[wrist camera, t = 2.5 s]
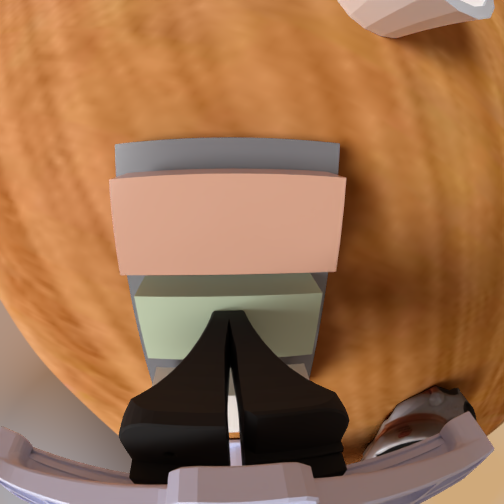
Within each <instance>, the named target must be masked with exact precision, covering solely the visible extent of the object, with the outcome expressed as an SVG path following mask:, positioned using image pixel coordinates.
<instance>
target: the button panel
mask: <svg viewBox="0 0 504 504" xmlns="http://www.w3.org/2000/svg"><path fill="white" fill-rule="evenodd" d="M339 152H340V144H339V143H330V142H319V141H307V140H293V139H274V138H187V139H169V140H155V141H143V142H133V143H123V144H115V162H116V177H117V176H120V175H123V174H126V173H133V172H147V171H164V170H185V169H286V170H308V171H324V172H330V173H333V174H336V175H338V169H339ZM280 274H295V273H280ZM310 274H311V275H312V277H313V278H314V280H315V282H316V283H317V285H318V286H319V288H320V290H321V291H322V300H321V306H320V312H319V318H318V324H317V330H316V336H315V341H314V347H313V352H312V354H309V355H299V356H287V357H279V358H280V359H281V360H282V361H283V362H284V363H285V364H286V365H291V364H302V363H304V365H305V368H306V371H307V374H308V377H309V378H310V373H311V368H312V364H313V359H314V354H315V349H316V343H317V338H318V333H319V327H320V321H321V315H322V310H323V303H324V297H325V290H326V284H327V277H328V272H313V273H310ZM235 275H257V274H235ZM145 276H196V275H127V277H128V283H129V288H130V294H131V299H132V304H133V309H134V313H135V318H136V323H137V327H138V331H139V335H140V340H141V344H142V348H143V351H144V355H145V359H146V363H147V366H148V370H149V373H150V377H151V380H152V384H153V380H154V376H155V371H156V367H168V368H176V367H177V366H178V365H179V364H180V363H181V362H182V360H183V359H154V358H148V356H147V352H146V348H145V344H144V340H143V336H142V331H141V327H140V323H139V318H138V313H137V308H136V303H135V298H134V296H135V294H136V292H137V290H138V288H139V286H140V284H141V282H142V281H143V279H144V277H145ZM230 368H231V366H230Z"/></svg>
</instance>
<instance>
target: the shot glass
mask: <svg viewBox="0 0 504 504" xmlns="http://www.w3.org/2000/svg"><path fill="white" fill-rule="evenodd" d="M338 2H339V4H340V5H341V6H342V7H343V9H344V10H345V11H346V13H347V14H348V15H349V17H351V18H352V19H353V20H355V21H356V22H357V23H358V24H359V25H361V26H362V27H363V28H364V29H367V30H369V31H371V32H373V33H375V34H377V35H379V36H383V37H390V38H399V37H402V36H406V35H409V34H413V33H416V32H420V31H424V30H428V29H432V28H436V27H441V26H445V25H450V24H455V23H461V22H467V21H473V20H480V19H486V18H490V17H491V15H492V12H493V10H494V2H493V0H338Z"/></svg>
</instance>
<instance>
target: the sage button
mask: <svg viewBox="0 0 504 504" xmlns="http://www.w3.org/2000/svg"><path fill="white" fill-rule="evenodd" d="M134 298H135V303H136V308H137V313H138V318H139V323H140V327H141V331H142V336H143V340H144V344H145V348H146V352H147V356H148V358H154V359H184V358H185V357H186V356H187V355H188V353H189V352H190V351H191V350H192V348H193V347H194V345H195V344H196V342H197V341H198V340H199V338H200V336H201V335H202V333H203V331H204V330H205V328H206V326H207V324H208V322H209V320H210V317H211V314H212V312H214V311H231V310H243V311H244V312H245V313H246V316H247V318H248V319H249V321H250V323H251V324H252V326H253V328H254V329H255V331H256V332H257V333H258V335H259V336H260V337H261V339H262V340H263V341H264V343H265V344H266V345H267V346H268V347H269V348H270V349H271V350H272V352H273V353H274V354H275V355H276V356H277V357H287V356H299V355H309V354H312V352H313V347H314V341H315V336H316V330H317V324H318V318H319V312H320V306H321V300H322V291H321V290H320V288H319V286H318V285H317V283H316V282H315V280H314V278H313V277H312V275H311V274H310V273H295V274H257V275H196V276H145V277H144V279H143V281H142V282H141V284H140V286H139V288H138V290H137V292H136V294H135V296H134Z"/></svg>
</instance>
